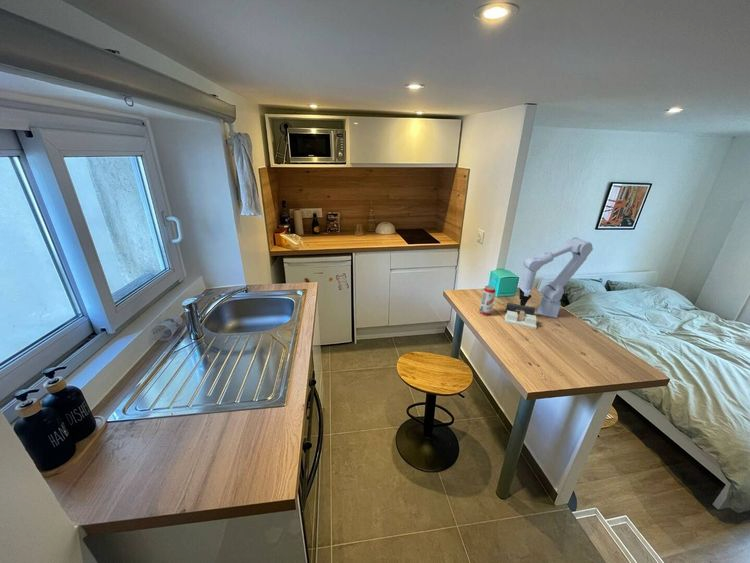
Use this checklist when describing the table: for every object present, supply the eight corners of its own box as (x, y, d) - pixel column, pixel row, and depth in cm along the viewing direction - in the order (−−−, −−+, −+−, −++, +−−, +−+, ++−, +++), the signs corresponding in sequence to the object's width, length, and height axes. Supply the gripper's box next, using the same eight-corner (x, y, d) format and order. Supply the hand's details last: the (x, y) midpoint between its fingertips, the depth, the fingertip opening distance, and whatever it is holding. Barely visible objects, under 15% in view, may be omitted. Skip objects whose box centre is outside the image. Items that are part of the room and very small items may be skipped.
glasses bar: (532, 315, 161) (534, 307, 159) (532, 317, 159) (535, 309, 157) (505, 310, 165) (507, 302, 163) (505, 312, 163) (507, 304, 161)
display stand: (534, 320, 155) (537, 311, 153) (536, 328, 149) (539, 318, 146) (504, 315, 160) (507, 305, 158) (505, 322, 154) (507, 312, 151)
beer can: (476, 311, 163) (481, 286, 157) (485, 309, 166) (490, 284, 159) (484, 316, 158) (490, 291, 152) (493, 314, 161) (498, 289, 154)
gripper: (519, 273, 161) (513, 295, 166) (520, 283, 148) (514, 306, 154) (532, 275, 158) (526, 297, 164) (535, 286, 146) (529, 309, 152)
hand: (521, 302), depth 159 cm, fingers open, 7 cm apart
